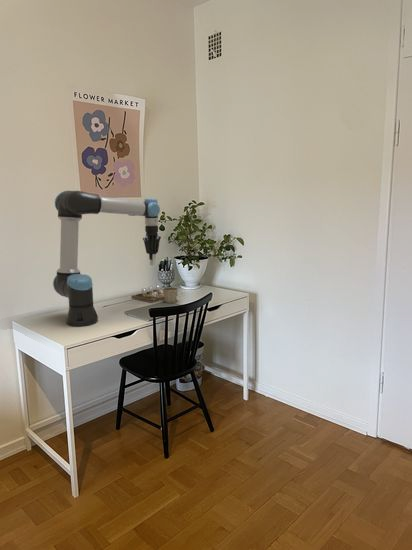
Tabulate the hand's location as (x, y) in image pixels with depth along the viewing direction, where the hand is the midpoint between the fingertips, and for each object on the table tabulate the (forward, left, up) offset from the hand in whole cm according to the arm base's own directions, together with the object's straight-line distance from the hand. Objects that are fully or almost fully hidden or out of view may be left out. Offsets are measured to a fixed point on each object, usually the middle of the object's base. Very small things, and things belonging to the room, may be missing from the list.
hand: (152, 264), depth 252 cm
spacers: (+2, -1, -20) cm, 20 cm away
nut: (-6, -2, -20) cm, 21 cm away
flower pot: (-1, -15, -21) cm, 26 cm away
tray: (+1, 0, -21) cm, 21 cm away
